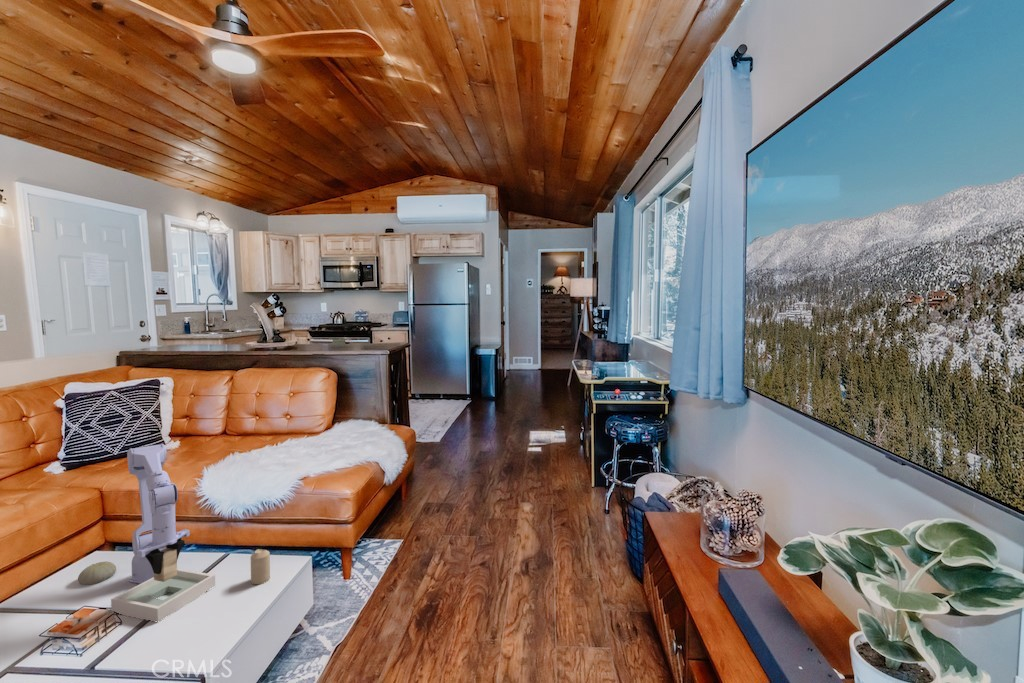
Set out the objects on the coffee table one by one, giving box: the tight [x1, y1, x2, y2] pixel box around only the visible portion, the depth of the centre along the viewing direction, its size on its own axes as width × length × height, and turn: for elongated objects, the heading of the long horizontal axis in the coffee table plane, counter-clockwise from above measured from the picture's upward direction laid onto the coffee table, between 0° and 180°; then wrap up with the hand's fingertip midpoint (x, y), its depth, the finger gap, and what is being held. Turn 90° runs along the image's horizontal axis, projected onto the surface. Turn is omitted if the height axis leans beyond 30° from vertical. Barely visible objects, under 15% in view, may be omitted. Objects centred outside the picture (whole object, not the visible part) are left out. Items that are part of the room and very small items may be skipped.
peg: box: [154, 548, 178, 582], centre depth 136 cm, size 4×4×8 cm
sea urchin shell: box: [77, 561, 117, 585], centre depth 148 cm, size 9×8×8 cm
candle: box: [250, 548, 271, 585], centre depth 147 cm, size 6×6×10 cm
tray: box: [110, 567, 216, 623], centre depth 136 cm, size 18×18×4 cm
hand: (165, 569), depth 136 cm, fingers closed on peg, 4 cm apart
